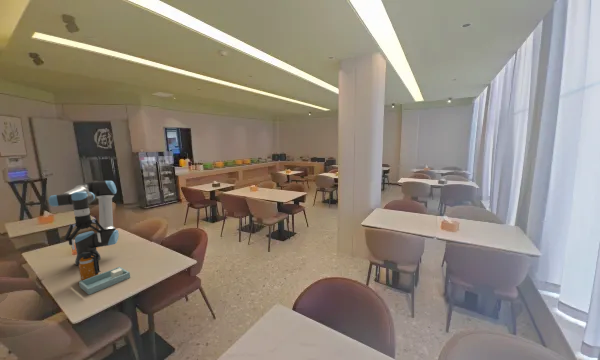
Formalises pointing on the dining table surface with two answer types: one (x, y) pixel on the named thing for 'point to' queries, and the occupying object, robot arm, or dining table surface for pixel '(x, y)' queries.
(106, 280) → the teal tray
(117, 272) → the cream cube
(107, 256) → the dining table surface
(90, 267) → the canister
